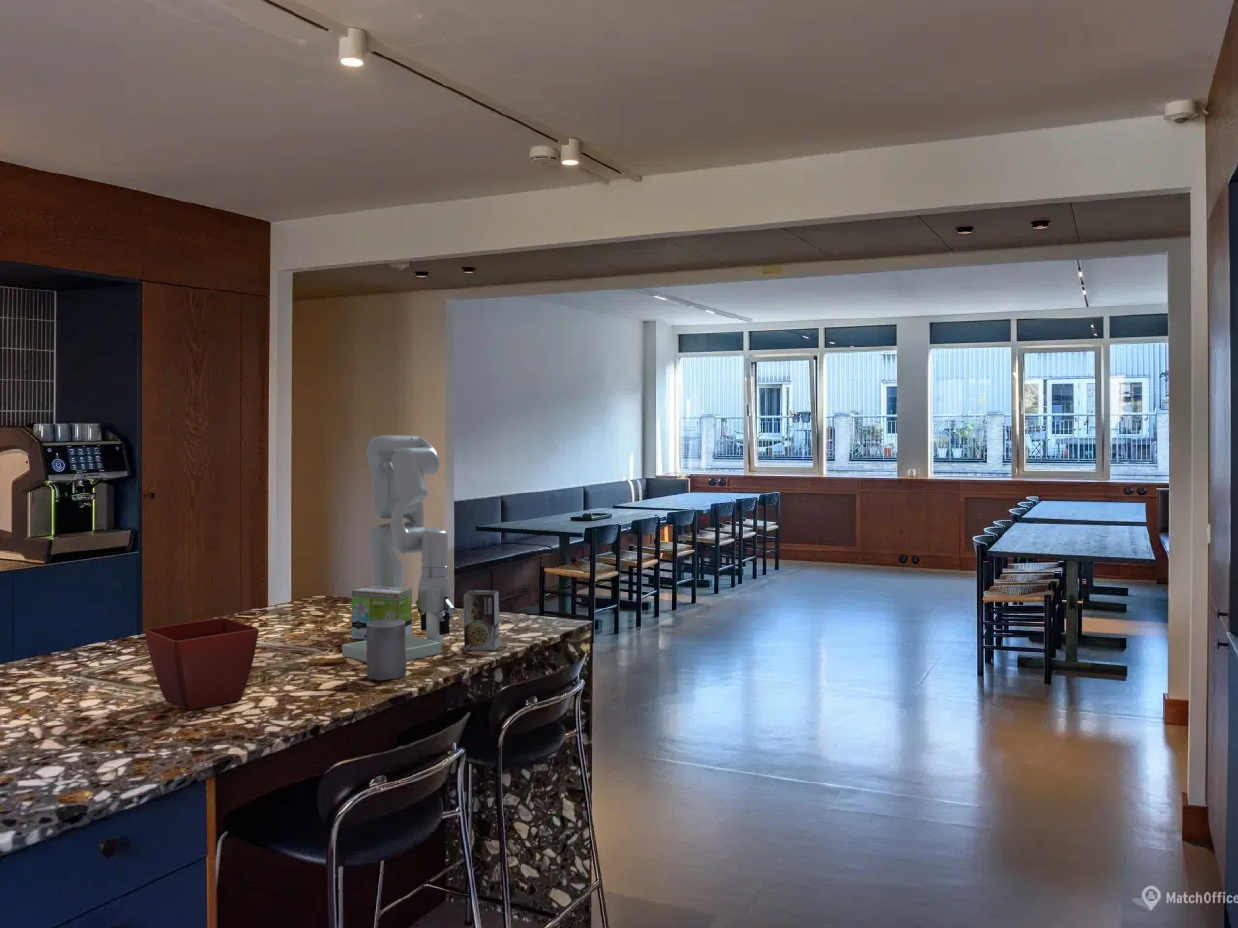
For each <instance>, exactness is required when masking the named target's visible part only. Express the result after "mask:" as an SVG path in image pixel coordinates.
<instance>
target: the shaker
mask: <svg viewBox="0 0 1238 928" xmlns="http://www.w3.org/2000/svg"><path fill="white" fill-rule="evenodd" d="M442 610H444V609H442ZM443 615H445V613H443ZM439 621H441V619H440V616H439V614H438V613H432V612H428V611H426V630H425V634H426V637H425V639H428V640H432V641H436V642H441V643H444V642H445V638H444V637H445V635H440V634H439Z"/></svg>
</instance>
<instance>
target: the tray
mask: <svg viewBox="0 0 1238 928" xmlns="http://www.w3.org/2000/svg"><path fill="white" fill-rule="evenodd" d="M405 645H406V662H408V661H407V660H409V661H414V660H417V658H418V659H422V657H423V658H426V657H427V656H428V657H432V656H436V654H437V655H440V653H442V654H443V651H442V649H443V648H442V647H443V645H442V643H441V642H436V641H432V640H428V639H426V638H422V637H420V636H415V635H411V636H410V635H406V634H405ZM341 649H342V650H341V651H342V652H341V656H342V655H343V657H345V656H346V658H349V657H351V658H350V659H353V658H354V659H353V660H356V659H358V660H357V661H360V660H361V662H364V661H365V663H367V640H365V639H364V640H361V641H360V640H359V641H356V642H355V641H354V642H350V643H344V644H341ZM431 655H432V656H431ZM413 659H414V660H413Z"/></svg>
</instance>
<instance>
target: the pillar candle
mask: <svg viewBox="0 0 1238 928" xmlns="http://www.w3.org/2000/svg"><path fill="white" fill-rule="evenodd" d="M366 637H367V662H366V677H367V679H369V678H370V679H369V680H373V679H375V680H374V681H389V679H390V680H398V678H399V679H402V678H404V677H406V674H407V661H406V645H405V621H404V620H401V619H387V617H386V619H377V620H372V621H369V622H367V623H366Z"/></svg>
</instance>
